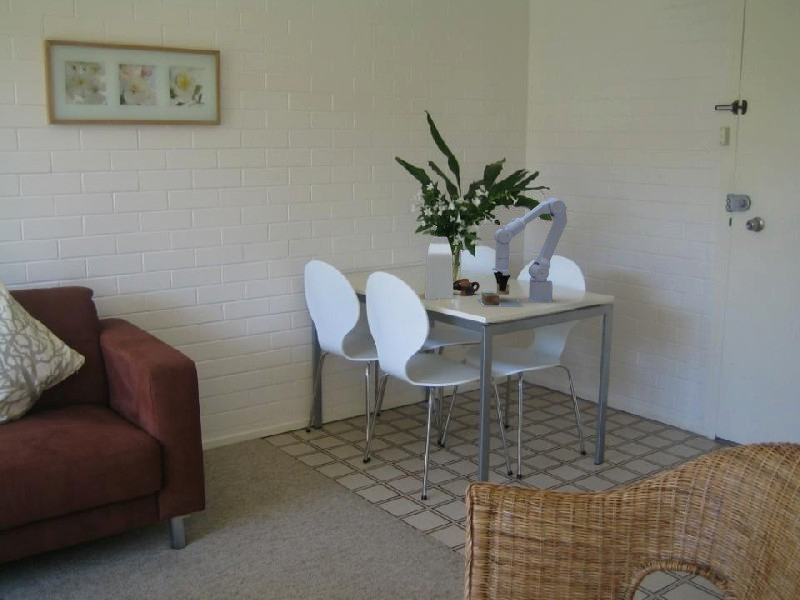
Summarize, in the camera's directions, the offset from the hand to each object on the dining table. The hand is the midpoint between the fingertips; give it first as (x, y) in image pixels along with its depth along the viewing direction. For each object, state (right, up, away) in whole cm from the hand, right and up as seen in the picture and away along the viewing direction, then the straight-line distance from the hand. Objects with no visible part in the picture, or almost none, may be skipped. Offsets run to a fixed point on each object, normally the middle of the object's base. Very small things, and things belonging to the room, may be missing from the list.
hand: (501, 289), depth 376 cm
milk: (-26, -3, +10) cm, 28 cm away
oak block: (+1, -2, 0) cm, 2 cm away
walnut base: (-5, -6, -9) cm, 12 cm away
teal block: (-6, -5, -1) cm, 8 cm away
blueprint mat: (-1, -6, -5) cm, 8 cm away
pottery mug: (-14, -2, +16) cm, 21 cm away
